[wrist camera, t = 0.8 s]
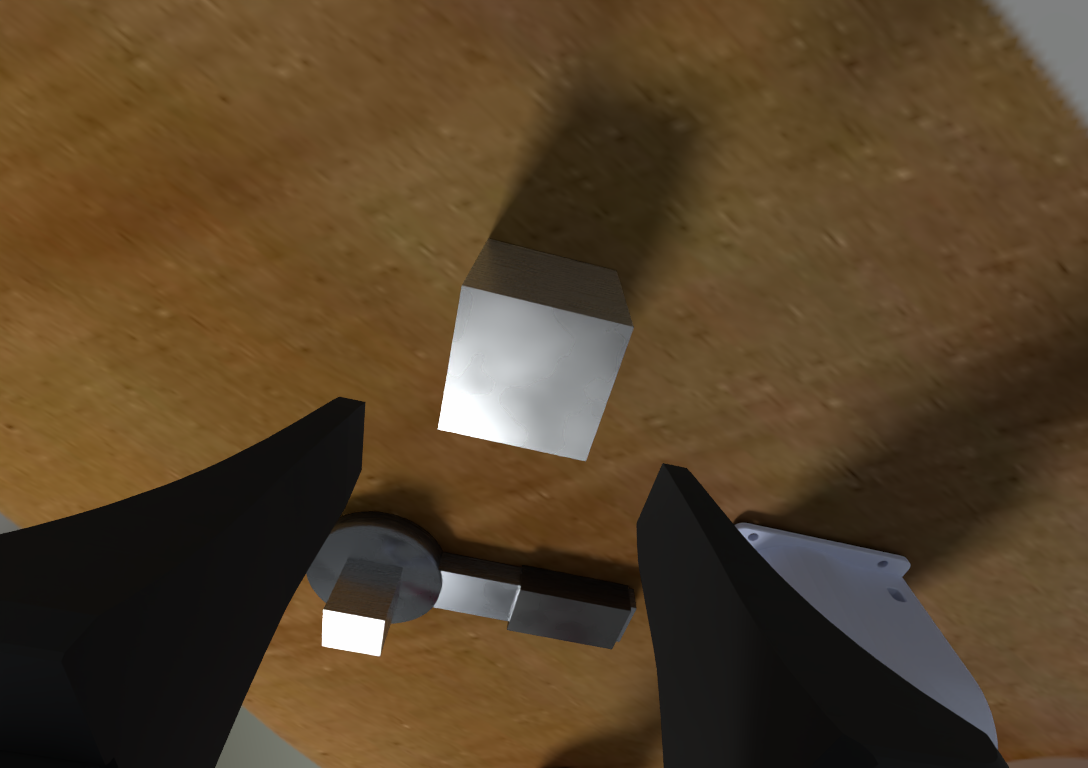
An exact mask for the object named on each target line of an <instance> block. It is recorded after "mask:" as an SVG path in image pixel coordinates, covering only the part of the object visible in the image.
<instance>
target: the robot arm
mask: <svg viewBox="0 0 1088 768" xmlns="http://www.w3.org/2000/svg"><path fill="white" fill-rule="evenodd" d="M364 416H365V402H362V401H358V400H353V399H348V398H343V397H338V398H336V399H334V400H332V401H330V402H329V403H327V404H325V405H324V406H322V407H320V408H319V409H317V410H315V411H314V412H312V413H310V414H308V415H307V416H305V417H303V418H302V419H300V420H298V421H297V422H295V423H293V424H292V425H290V426H288V427H286V428H284V429H283V430H281V431H279V432H277V433H276V434H274V435H272V436H270V437H269V438H267V439H265V440H263V441H261V442H259V443H257V444H255V445H253V446H251V447H249V448H247V449H245V450H243V451H241V452H239V453H237V454H235V455H233V456H231V457H229V458H228V459H225V460H223V461H221V462H219V463H217V464H215V465H212V466H210V467H208V468H206V469H203V470H201V471H199V472H196V473H194V474H191V475H189V476H187V477H184V478H182V479H179V480H177V481H174V482H172V483H169V484H167V485H164V486H161V487H158V488H155V489H153V490H150V491H147V492H144V493H141V494H138V495H135V496H132V497H129V498H127V499H124V500H121V501H118V502H115V503H112V504H109V505H106V506H103V507H100V508H96V509H93V510H90V511H86V512H83V513H79V514H76V515H73V516H69V517H66V518H62V519H58V520H55V521H51V522H47V523H43V524H40V525H36V526H32V527H28V528H24V529H20V530H17V531H12V532H8V533H3V534H0V768H215V766H216V764H217V761H218V759H219V757H220V754H221V752H222V750H223V747H224V745H225V743H226V740H227V738H228V735H229V733H230V731H231V729H232V726H233V724H234V722H235V719H236V717H237V715H238V712H239V710H240V708H241V705H242V703H243V701H244V698H245V696H246V694H247V692H248V690H249V687H250V685H251V683H252V681H253V679H254V676H255V674H256V672H257V670H258V667H259V665H260V663H261V661H262V659H263V656H264V654H265V652H266V650H267V648H268V646H269V643H270V641H271V639H272V637H273V635H274V633H275V631H276V629H277V627H278V624H279V622H280V620H281V618H282V616H283V614H284V612H285V610H286V608H287V606H288V604H289V602H290V600H291V598H292V597H293V595H294V593H295V591H296V589H297V588H298V586H299V584H300V583H301V581H302V579H303V578H304V576H305V574H306V573H307V571H308V569H309V568H310V566H311V564H312V563H313V561H314V559H315V558H316V556H317V554H318V553H319V551H320V549H321V548H322V546H323V544H324V543H325V541H326V539H327V538H328V536H329V534H330V533H331V531H332V529H333V527H334V526H335V524H336V522H337V521H338V519H339V517H340V516H341V514H342V512H343V510H344V509H345V507H346V505H347V502H348V500H349V498H350V496H351V494H352V491H353V489H354V487H355V484H356V482H357V479H358V477H359V475H360V472H361V470H362V452H363V434H364ZM752 533H754V534H752ZM750 534H752V535H750ZM637 550H638V564H639V570H640V576H641V582H642V587H643V593H644V598H645V604H646V609H647V615H648V620H649V626H650V631H651V637H652V642H653V647H654V653H655V660H656V668H657V676H658V688H659V701H660V713H661V729H662V745H663V762H664V768H1009V766H1008V765H1007V763H1006V762H1005V760H1004V759H1003V757H1002V756H1001V754H1000V753H999V751H998V743H997V735H996V730H995V725H994V721H993V717H992V714H991V711H990V708H989V706H988V703H987V701H986V699H985V697H984V695H983V693H982V691H981V689H980V687H979V686H978V684H977V682H976V681H975V679H974V678H973V676H972V675H971V674H970V672H969V671H968V669H967V668H966V667H965V665H964V664H963V662H962V661H961V659H960V658H959V657H958V655H957V654H956V652H955V651H954V650H953V648H952V647H951V645H950V644H949V643H948V641H947V640H946V638H945V637H944V636H943V634H942V633H941V631H940V630H939V628H938V627H937V626H936V624H935V623H934V621H933V620H932V619H931V617H930V616H929V614H928V613H927V612H926V610H925V609H924V607H923V606H922V604H921V603H920V602H919V600H918V599H917V597H916V596H915V595H914V593H913V592H912V590H911V589H910V588H909V586H908V585H907V583H906V582H905V581H904V579H903V578H902V577H903V576H904V574H905V573H906V572H907V571H908V570H909V568H910V563H909V561H908V560H907V559H906V557H904V556H900V555H896V554H891V553H886V552H882V551H877V550H872V549H867V548H863V547H858V546H853V545H849V544H844V543H839V542H834V541H830V540H825V539H820V538H816V537H811V536H806V535H801V534H797V533H792V532H787V531H783V530H778V529H773V528H768V527H764V526H759V525H754V524H750V523H738V524H736V525H734V524H733V523H732V522H731V521H730V519H729V518H728V517H727V516H726V515H725V513H724V512H723V511H722V510H721V509H720V507H719V506H718V505H717V504H716V502H715V501H714V500H713V499H712V498H711V496H710V495H709V494H708V493H707V491H706V490H705V489H704V488H703V486H702V485H701V484H700V483H699V482H698V480H697V479H696V478H695V477H694V476H693V475H692V473H691V472H690V471H689V470H688V469H687V468H684V467H679V466H674V465H669V464H664V463H663V464H662V466H661V468H660V471H659V473H658V475H657V477H656V480H655V482H654V484H653V487H652V489H651V491H650V494H649V496H648V498H647V501H646V503H645V505H644V507H643V510H642V512H641V514H640V517H639V519H638V521H637Z"/></svg>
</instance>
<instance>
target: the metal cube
mask: <svg viewBox="0 0 1088 768" xmlns="http://www.w3.org/2000/svg"><path fill="white" fill-rule="evenodd" d="M633 328H634V326H633V323H632V320H631V316H630V313H629V310H628V307H627V303H626V300H625V297H624V293H623V290H622V287H621V284H620V280H619V277H618V274H617V271H615V270H611V269H607V268H603V267H599V266H595V265H592V264H588V263H584V262H580V261H576V260H572V259H568V258H564V257H560V256H556V255H552V254H548V253H544V252H540V251H536V250H532V249H528V248H524V247H520V246H516V245H512V244H508V243H504V242H500V241H496V240H492V239H488V240H487V242H486V243H485V245H484V247H483V249H482V250H481V252H480V254H479V256H478V258H477V259H476V261H475V263H474V265H473V267H472V268H471V270H470V272H469V274H468V275H467V277H466V279H465V281H464V283H463V284H462V288H461V294H460V300H459V306H458V312H457V318H456V324H455V330H454V336H453V342H452V348H451V354H450V360H449V366H448V372H447V378H446V384H445V390H444V396H443V402H442V408H441V414H440V420H439V426H438V429H440V430H444V431H449V432H453V433H458V434H463V435H467V436H472V437H476V438H481V439H486V440H490V441H495V442H500V443H504V444H509V445H513V446H518V447H523V448H527V449H532V450H536V451H541V452H546V453H550V454H555V455H559V456H564V457H569V458H573V459H578V460H583V461H586V459H587V456H588V454H589V451H590V448H591V445H592V442H593V440H594V437H595V434H596V431H597V428H598V426H599V423H600V420H601V417H602V414H603V412H604V409H605V406H606V403H607V400H608V398H609V395H610V392H611V389H612V387H613V384H614V381H615V378H616V375H617V373H618V370H619V367H620V364H621V361H622V359H623V356H624V353H625V350H626V347H627V345H628V342H629V339H630V336H631V333H632V331H633Z"/></svg>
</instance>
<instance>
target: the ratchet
mask: <svg viewBox="0 0 1088 768" xmlns="http://www.w3.org/2000/svg"><path fill="white" fill-rule="evenodd" d="M307 577H308V580H309V583H310V585H311V587H312V588H313V590H314V591H315V592H316V594H317V595H318V596H319V597H320V598H321V599H322V600H323V601H324V602H326V605H325V607H324V609H323V632H322V646H325V647H331V648H336V649H342V650H348V651H353V652H359V653H365V654H370V655H376V656H380V655H381V652H382V649H383V646H384V643H385V640H386V637H387V634H388V631H389V628H390V625H391V623H401V622H406V621H410V620H413V619H416V618H418V617H420V616H422V615H424V614H425V613H427V612H428V611H429V610H430V609H431V608H432V607H436V608H441V609H446V610H452V611H457V612H462V613H468V614H473V615H478V616H484V617H489V618H495V619H500V620H505V621H508V625H507V630H510V631H516V632H521V633H526V634H532V635H537V636H543V637H548V638H553V639H559V640H564V641H570V642H575V643H580V644H586V645H591V646H597V647H602V648H608V649H612V648H613V646H614V644H615V642H616V641H618V642H619V641H620V639H621V637H622V635H623V634H624V632H625V630H626V628H627V626H628V624H629V622H630V620H631V618H632V616H633V614H634V612H635V610H636V602H635V595H634V589H629V588H628V586H626V585H621V584H616V583H611V582H606V581H601V580H596V579H591V578H586V577H581V576H576V575H571V574H565V573H560V572H555V571H550V570H545V569H540V568H535V567H530V566H525V565H522V567H517V566H512V565H506V564H501V563H496V562H491V561H486V560H481V559H476V558H471V557H466V556H461V555H455V554H450V553H445V552H443V551H442V549H441V547H440V546H439V544H438V543H437V541H436V540H435V539H434V538H433V537H432V536H431V535H430V534H429V533H428V532H427V531H425V530H424V529H423V528H421V527H420V526H418V525H416V524H415V523H413V522H411V521H409V520H406V519H404V518H401V517H398V516H395V515H391V514H387V513H380V512H359V513H352V514H349V515H345V516H343V517H340V518H339V519H338V521H337V522H336V524H335V526H334V527H333V529H332V531H331V533H330V534H329V536H328V538H327V539H326V541H325V543H324V544H323V546H322V548H321V549H320V551H319V553H318V554H317V556H316V558H315V559H314V561H313V563H312V564H311V566H310V568H309V569H308V571H307Z"/></svg>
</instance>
